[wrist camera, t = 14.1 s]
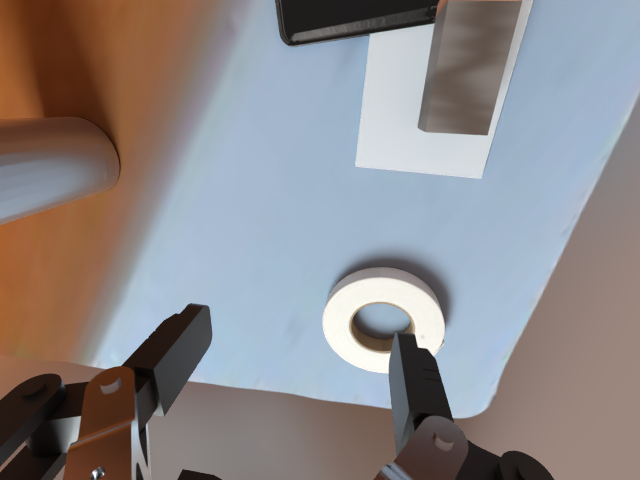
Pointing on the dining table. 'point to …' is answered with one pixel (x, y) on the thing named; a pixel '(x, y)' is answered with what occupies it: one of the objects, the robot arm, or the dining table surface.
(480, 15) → the block
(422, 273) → the dining table surface
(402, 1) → the phone
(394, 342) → the robot arm
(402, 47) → the mat
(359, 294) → the roll of tape
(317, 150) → the dining table surface
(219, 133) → the dining table surface
